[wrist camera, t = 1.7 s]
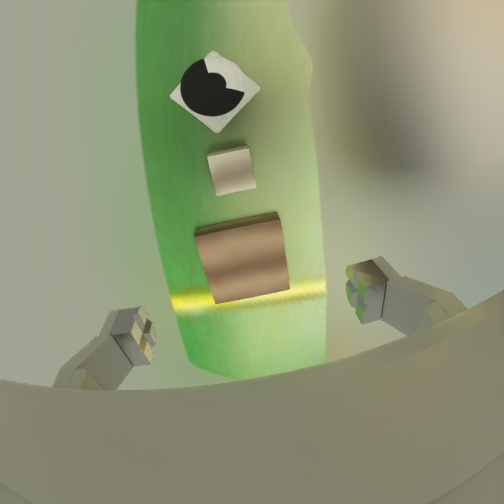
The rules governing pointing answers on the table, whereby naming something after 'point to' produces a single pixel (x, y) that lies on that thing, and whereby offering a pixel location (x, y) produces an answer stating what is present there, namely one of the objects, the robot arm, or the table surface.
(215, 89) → the medicine bottle
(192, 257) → the table surface
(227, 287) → the walnut base
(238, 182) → the ash cube
